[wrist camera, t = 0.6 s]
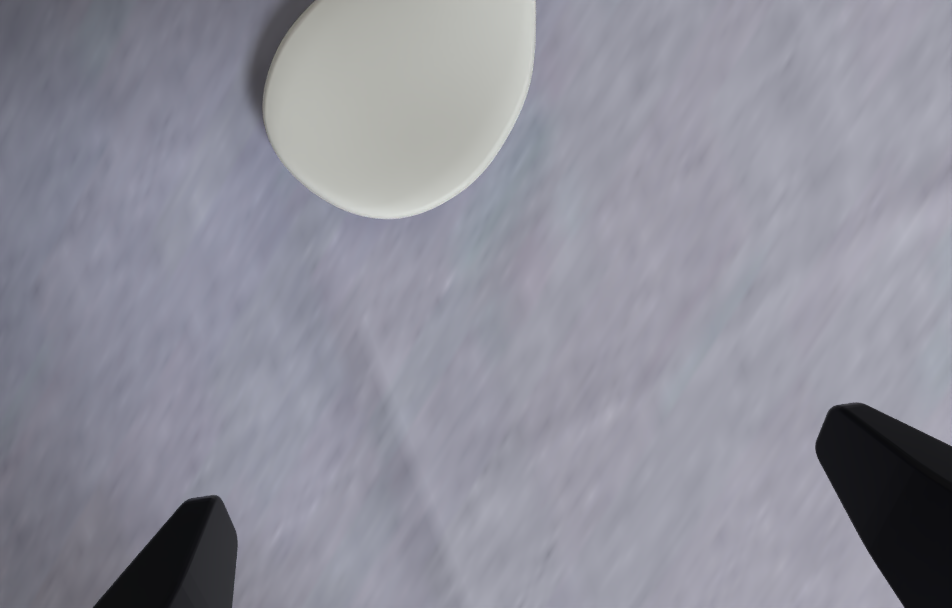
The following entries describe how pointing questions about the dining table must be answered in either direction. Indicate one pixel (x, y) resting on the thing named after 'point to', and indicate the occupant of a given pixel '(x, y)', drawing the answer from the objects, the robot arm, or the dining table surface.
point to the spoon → (397, 98)
